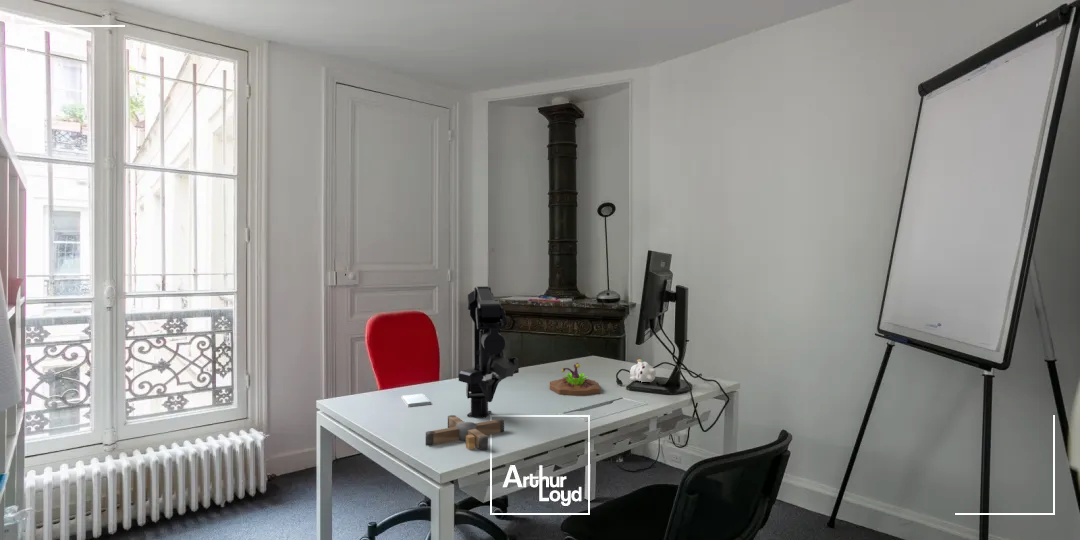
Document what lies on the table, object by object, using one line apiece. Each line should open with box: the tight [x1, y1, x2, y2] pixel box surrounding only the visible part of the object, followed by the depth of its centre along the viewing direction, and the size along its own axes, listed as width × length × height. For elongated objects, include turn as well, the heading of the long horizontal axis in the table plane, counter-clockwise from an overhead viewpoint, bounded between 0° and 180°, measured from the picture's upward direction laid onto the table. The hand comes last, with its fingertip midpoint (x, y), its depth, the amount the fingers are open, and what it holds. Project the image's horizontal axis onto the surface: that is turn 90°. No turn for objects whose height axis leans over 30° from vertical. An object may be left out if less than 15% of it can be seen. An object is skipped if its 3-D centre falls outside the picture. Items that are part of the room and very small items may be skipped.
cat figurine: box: [629, 358, 657, 383], centre depth 231 cm, size 10×8×15 cm
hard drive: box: [400, 393, 432, 408], centre depth 201 cm, size 2×8×12 cm
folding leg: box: [468, 429, 489, 451], centre depth 156 cm, size 9×3×3 cm, turn 33°
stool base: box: [425, 414, 505, 451], centre depth 163 cm, size 22×25×4 cm
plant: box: [549, 362, 601, 397], centre depth 218 cm, size 20×20×11 cm
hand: (489, 401), depth 158 cm, fingers closed
